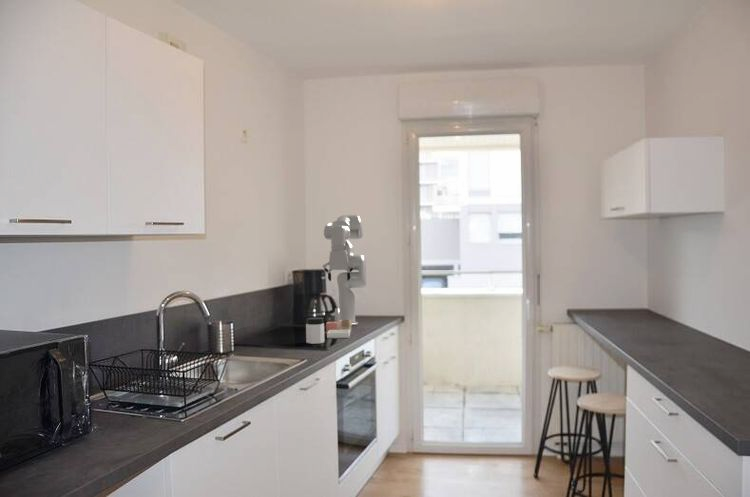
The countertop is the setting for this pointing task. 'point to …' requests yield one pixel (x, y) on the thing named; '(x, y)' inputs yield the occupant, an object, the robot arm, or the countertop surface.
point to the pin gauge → (337, 317)
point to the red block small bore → (331, 326)
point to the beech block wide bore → (345, 325)
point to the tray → (338, 334)
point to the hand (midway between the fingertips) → (339, 280)
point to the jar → (315, 330)
